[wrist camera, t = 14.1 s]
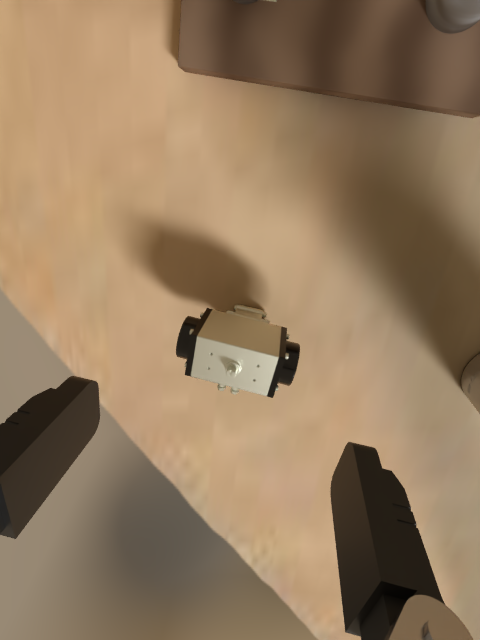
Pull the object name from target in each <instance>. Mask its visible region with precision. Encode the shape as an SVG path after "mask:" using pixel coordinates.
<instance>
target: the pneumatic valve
mask: <svg viewBox="0 0 480 640" xmlns="http://www.w3.org/2000/svg"><path fill="white" fill-rule="evenodd" d="M234 310H236V311H235V312H233V311H229V310H227V311H226V313H225V312H221V311H217V310H213V309H209V308H207V309H206V311H205V312H204V313H201V315H200V317H201V319H199V318H195V317H191V316H188V317H186V319H185V320H184V322H183V324H182V327H181V330H180V333H179V336H178V341H177V346H176V355H177V357H180V358H184V359H187V362H186V363H185V367H186V370H185V375H187V376H191V377H195V378H199V379H203V380H206V381H210V382H214V383H218V384H219V385H218V390H220V391H224V390H225V389H226V386H229V387H232V388H231V393H232V394H238V392H239V389H241V390H245V391H248V392H252V393H256V394H260V395H264V396H267V397H271V398H273V396H274V393H275V391H278V385H277V383H280V384H284V385H288V386H289V385H291V383H292V381H293V378H294V375H295V372H296V369H297V365H298V360H299V353H300V345H299V344H298V343H294V342H290V341H286V339H289V334H287V328H285V327H281V326H277V325H273V324H269V323H270V321H269V320H265V319H261V317H266V315H267V314H266V313H265V312H263V310H260V309H256V308H252V307H248V306H244V305H240V304H238V305H235V307H234Z"/></svg>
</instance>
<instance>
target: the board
mask: <svg viewBox="0 0 480 640" xmlns="http://www.w3.org/2000/svg"><path fill="white" fill-rule="evenodd" d="M178 66H179V67H180V68H181V69H182V70H183V71H185V72H189V73H195V74H201V75H207V76H214V77H220V78H226V79H232V80H239V81H245V82H251V83H257V84H263V85H270V86H276V87H282V88H288V89H295V90H301V91H307V92H313V93H319V94H326V95H332V96H338V97H344V98H351V99H357V100H363V101H369V102H375V103H382V104H388V105H394V106H400V107H406V108H413V109H419V110H425V111H431V112H438V113H444V114H450V115H456V116H462V117H469V118H474V117H477V116H480V0H277V2H273V1H266V0H182V2H181V20H180V38H179V56H178Z"/></svg>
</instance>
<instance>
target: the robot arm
mask: <svg viewBox="0 0 480 640" xmlns="http://www.w3.org/2000/svg"><path fill="white" fill-rule="evenodd" d="M461 385H462V389H463V391H464V394H465V395H466V396H467V398H468V399H469V400H470V402H471V403H472V404H473V406H474V407H475V408H476V410H477V411H478V412H479V414H480V354H478V355H477V356H475V357H474V358H473V359H472V360H471V361H470V362H469V363H468V365H467V366H466V368H465V369H464V372H463V374H462V379H461ZM99 420H100V408H99V388H98V383H97V382H96V381H93V380H89V379H84V378H80V377H76V376H71V377H69V378H68V379H67V380H66V381H65V382H63V383H62V384H61V385H60V386H59V387H58V388H57V389H52V388H50V389H48V390H46V391H43V392H42V393H39V394H37V395H35V396H33V397H32V398H30V399H29V400H28V401H27V402H26V403H25V404H24V405H22V406H21V407H20V408H19V409H18V411H17V412H15V413H13V414H12V415H11V416H10V417H9V418H8V419H6V421H5V423H2V424H1V425H0V535H3V536H7V537H11V538H14V539H16V538H17V537H18V535H19V534H20V533H21V531H22V530H23V529H24V527H25V526H26V525H27V523H28V522H29V520H30V519H31V518H32V517H33V515H34V514H35V512H36V511H37V510H38V509H39V507H40V506H41V505H42V503H43V502H44V501H45V499H46V498H47V497H48V495H49V494H50V493H51V491H52V490H53V489H54V487H55V486H56V485H57V483H58V482H59V481H60V479H61V478H62V477H63V475H64V474H65V473H66V471H67V470H68V469H69V467H70V466H71V465H72V463H73V462H74V461H75V459H76V458H77V457H78V455H79V454H80V453H81V452H82V450H83V449H84V448H85V446H86V445H87V444H88V442H89V441H90V440H91V438H92V437H93V435H94V434H95V432H96V430H97V427H98V424H99ZM331 504H332V513H333V522H334V532H335V541H336V550H337V559H338V568H339V578H340V587H341V596H342V605H343V614H344V623H345V632H346V633H350V634H354V635H357V636H361V640H473V638H472V636H471V634H470V633H469V631H468V629H467V628H466V627H465V625H464V624H463V622H462V621H461V620H460V619H459V618H458V616H457V615H456V614H455V613H454V612H453V611H452V610H451V609H449V608H448V607H447V606H446V605H445V603H444V601H443V599H442V597H441V594H440V591H439V588H438V586H437V583H436V580H435V577H434V574H433V571H432V568H431V565H430V562H429V559H428V556H427V553H426V550H425V548H424V545H423V542H422V539H421V536H420V533H419V530H418V528H416V521H415V518H414V515H413V512H411V507H410V504H409V501H408V498H407V495H406V492H405V489H404V487H403V486H402V485H401V483H400V482H399V480H398V479H397V478H396V476H395V475H394V473H393V472H392V471H390V470H386V469H382V466H381V463H380V459H379V456H378V453H377V450H376V449H375V448H373V447H369V446H364V445H360V444H356V443H352V442H348V443H347V445H346V446H345V449H344V451H343V453H342V456H341V458H340V460H339V462H338V465H337V467H336V469H335V472H334V474H333V477H332V481H331Z"/></svg>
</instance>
